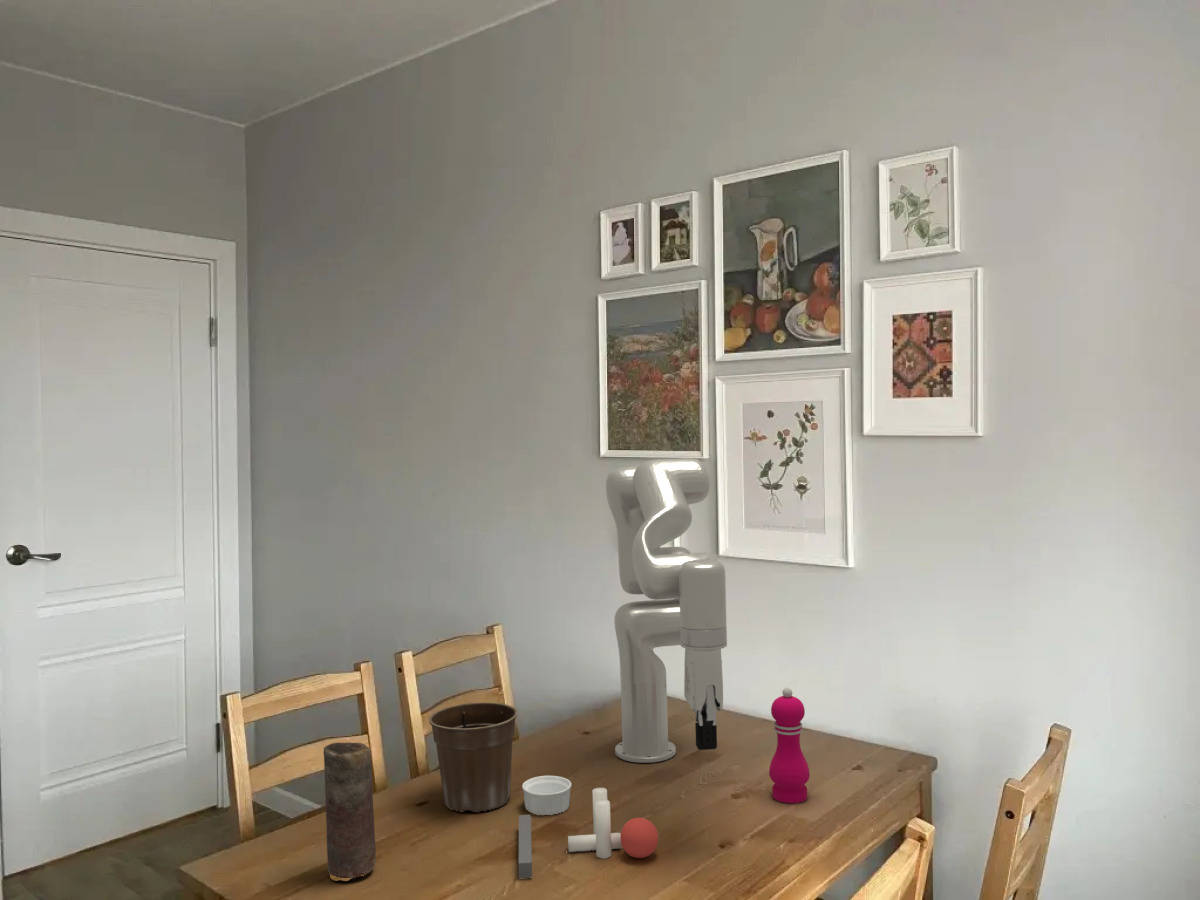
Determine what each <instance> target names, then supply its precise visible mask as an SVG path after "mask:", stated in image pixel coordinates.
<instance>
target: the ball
mask: <svg viewBox="0 0 1200 900" xmlns="http://www.w3.org/2000/svg"><path fill="white" fill-rule="evenodd" d="M620 833H621V837H620V838H621V844H622V848H623V850H624V852H626V853H627V854H628V855H629V856H631V857H632V858H636V859H644V858H647V857H648V856H650V855H652V854H653V853H654V851H655V850H656V849H657V846H658V843H659V834H658V833H659V832H658V830H657V828H656V826H655V825H654V824H653V822H651V820H649V819H647V818H644V817H635V818H631V819H629V820H628V821H627V822H626V823H624V825H623V827H622V829H621V831H620Z"/></svg>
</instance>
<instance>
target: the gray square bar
mask: <svg viewBox="0 0 1200 900" xmlns="http://www.w3.org/2000/svg"><path fill="white" fill-rule="evenodd" d="M531 843H532V814H521V815H520V814H519V815H518V879H519V878H530V877H532V878H533V859H532V858H533V857H532V855H533V851H532V850H533V847H532V846H533V845H532V844H533V843H532V844H531Z"/></svg>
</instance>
